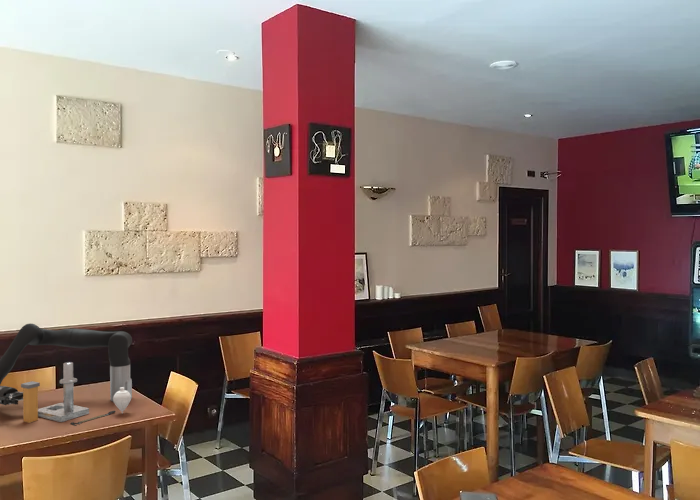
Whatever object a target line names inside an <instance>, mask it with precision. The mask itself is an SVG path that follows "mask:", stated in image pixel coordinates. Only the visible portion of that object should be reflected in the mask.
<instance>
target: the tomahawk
mask: <svg viewBox="0 0 700 500" xmlns="http://www.w3.org/2000/svg"><path fill="white" fill-rule="evenodd" d="M114 413H116V410H110V411H109V412H108V413H105V414H100V415H97V416H94V417H93V416H92V417H90V418H87V419H84V420H80V421H77V422H74V421H72V422H70V425H72V426H74V427H77V425H79V426H81V424H83V423H86V422H90V421H93V420H96V419H100V418H103V417H107V416H110V415H112V414H114Z"/></svg>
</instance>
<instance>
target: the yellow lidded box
mask: <svg viewBox="0 0 700 500" xmlns="http://www.w3.org/2000/svg"><path fill="white" fill-rule="evenodd" d="M40 386H41V383H40V382H38V381H34V380H32V381H26V382H24V383H20V387H21V388H22V389H23V390H22V392H23V400H22V401H23V402H22V403H23V407H22V408H23V415H22V416H23V422H24V423H29V424H30V423H33V422H36V421H38V420H39V417H38V409H39V407H38V405H39V400H38V399H39V398H38V395H39V394H38V392H39V391H38V387H40Z"/></svg>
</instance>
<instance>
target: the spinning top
mask: <svg viewBox="0 0 700 500" xmlns="http://www.w3.org/2000/svg"><path fill="white" fill-rule="evenodd" d="M131 400H132V398H131V394H130V393H129V392H128V391H126V390H124V387H121V388H120V391H118V392H116V393H115V395H114V397H113V401H114V402H113V401H112V402H113V404H114V405H115V406H116V408H117V409H118V410H119V411H120V412H121V414H122V415H123V413H124V412H125V410H126V409H127V407H128V405H130V403H131Z"/></svg>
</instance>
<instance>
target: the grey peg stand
mask: <svg viewBox="0 0 700 500" xmlns="http://www.w3.org/2000/svg"><path fill="white" fill-rule="evenodd" d="M62 364H63V365H62V367H63V370H62V373H63V376H62V377H63V378H61V379H60V380H59V384H61V385H63V402H58V403H55V404H52V405H48V406H44V407H41V408H38V418H40V419H41V418H42V419H46V420H50V421H54V422H59V423H64V422H66V421H70V420H72V419H73V420H74V419H77V418H79V417H83V416H87V415H88V414H90V408H89V407H86V406H85V407H84V406H80V405H76V404H75V403H74V400H75V399H74V383H77V382H78V378H76V377H74V362H72V361H67V362H64V363H62Z"/></svg>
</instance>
